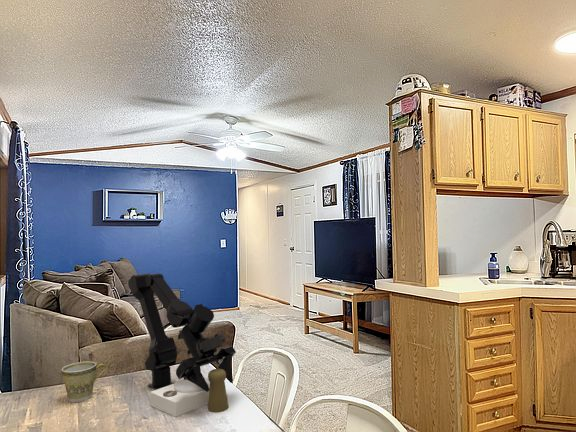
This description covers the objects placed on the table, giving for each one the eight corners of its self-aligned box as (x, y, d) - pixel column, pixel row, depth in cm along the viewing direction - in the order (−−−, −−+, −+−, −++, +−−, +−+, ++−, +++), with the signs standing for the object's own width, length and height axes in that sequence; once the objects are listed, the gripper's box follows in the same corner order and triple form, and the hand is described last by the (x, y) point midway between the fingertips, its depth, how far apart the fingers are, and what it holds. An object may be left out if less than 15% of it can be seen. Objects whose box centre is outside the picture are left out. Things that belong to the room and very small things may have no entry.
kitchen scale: (150, 405, 131) (150, 389, 131) (194, 388, 143) (194, 374, 143) (175, 417, 122) (175, 399, 122) (220, 398, 134) (219, 382, 134)
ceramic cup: (67, 407, 131) (66, 374, 132) (58, 398, 139) (57, 366, 139) (111, 395, 140) (110, 363, 140) (101, 387, 148) (100, 357, 148)
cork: (224, 413, 123) (223, 373, 124) (204, 412, 125) (203, 373, 125) (231, 404, 129) (230, 366, 130) (212, 403, 131) (210, 366, 131)
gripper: (180, 332, 123) (206, 380, 115) (230, 319, 137) (256, 361, 129) (165, 355, 128) (189, 402, 121) (215, 341, 142) (239, 382, 135)
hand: (220, 386), depth 126 cm, fingers open, 8 cm apart
